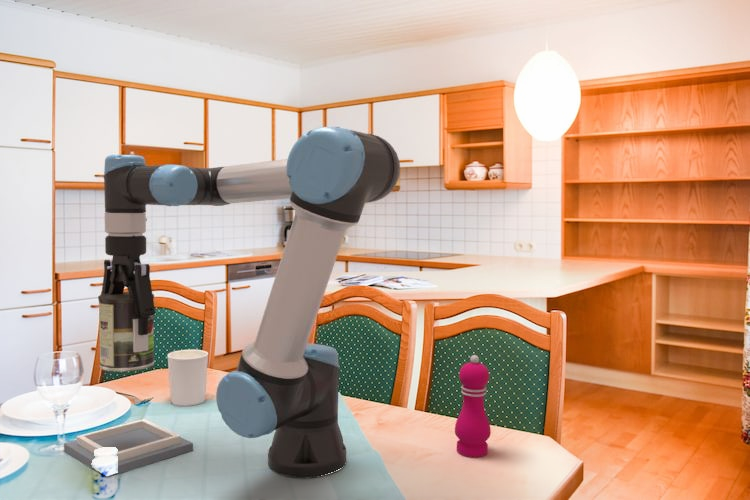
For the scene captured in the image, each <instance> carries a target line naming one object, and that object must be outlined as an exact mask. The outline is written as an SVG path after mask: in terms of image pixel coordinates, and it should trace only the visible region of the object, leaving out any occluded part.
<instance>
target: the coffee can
mask: <svg viewBox="0 0 750 500" xmlns="http://www.w3.org/2000/svg"><path fill="white" fill-rule="evenodd" d="M101 294H102V293H101ZM101 294H100V295H98V297H97V298H98V306H99V307H98V311H99V312H98V313H99V314H98V319H99V320H98V321H99V325H98V326H99V327H98V328H99V368H100V369H101V370H103V371H106V372H118V373H119V372H132V371H140V370H144V369H148V368H150V367H151V368H152V367H153V366H154V365H155V353H154V352H155V351H154V350H155V340H154V336H155V332H154V330H155V329H154V324H155V323H154V321H155V320H154V317H155V315H151V316H150V317H148V350H147V351H141V352H133V319H132V317H133V316H134V315H135V313H134V309H133V299H132V298H130V295H129V291H123V294H113V295H111V294H109V293H108V294H102V295H101ZM152 295H153V300H154V299H155V294H154V293H152Z"/></svg>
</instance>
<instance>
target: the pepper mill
mask: <svg viewBox="0 0 750 500" xmlns="http://www.w3.org/2000/svg"><path fill="white" fill-rule="evenodd" d="M469 358H470V359H469V360H470V362H467V363H465V364H463V365H462V366H461V368H460V370H459V375H458V376H459V380H460V382H461V383H462V385H461V387H460V388H461V394H462V397H463V399H462V400H463V401H462V406H461V411H460V413H459V415H458V417H457V419H456V422H455V425H454V426H455V427H454V435H455V436H456V437H457V438H458V440H457V441H456V452H457V453H458V454H459V455H461V456H463V457H467V458H480V457H481V458H482V457H484V456H486V455H487V454H488V452H489V448H488V447H489V444H488V442H487V440H488V439H489V438H490V436H491V433H492V432H491V425H490V421H489V418H488V417H487V413H486V411H485V410H486V409H485V406H484V405H485V404H484V403H485V401H484V400H485V395H487V391H486V390H487V386H486V385H487V384H488V382H489V380H490V371H489V370H488V368H487V366H486V365H484V364H483V363H480V358H479V356H478V355H476V354H473V355H471V356H470V357H469Z"/></svg>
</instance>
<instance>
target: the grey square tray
mask: <svg viewBox="0 0 750 500" xmlns="http://www.w3.org/2000/svg"><path fill="white" fill-rule="evenodd" d="M102 447H116V448H117V449H118V452H117V456H118V474H122V473H125V472H128V471H131V470H134V469H138V468H140V467H145V466H147V465H151V464H154V463H157V462H160V461H162V460H167V459H170V458H172V457H176V456H180V455H183V454H186V453H189V452H192V451H194V442H192V441H189V440H187V439H185V438H183V437H182V436H181V435H180V434H177V433H176V432H173V431H171V430H169V429H167V428H165V427H163V426H160V425H158V424H156V423H154V422H151V421H150V420H147V419H146V418H142V419H138V420H134V421H131V422H130V421H129V422H127V423H123V424H119V425H115V426H111V427H107V428H104V429H100V430H99V429H98V430H96V431H92V432H89V433H88V432H87V433H83V434H80V435H77V436H76V440H73V441H69V442H64V443H63V451H64V452H66V454H68V455H70V456H72V457H73V458H74V459H76V460H78V461H79V462H82V463H83V464H85V465H86V466H87V467H89V468H91V469H92V465H91V463H92V460H93V459H94V458H95V456H94V450H95V449H98V448H102ZM118 474H117V475H118Z"/></svg>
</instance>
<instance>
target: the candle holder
mask: <svg viewBox="0 0 750 500" xmlns="http://www.w3.org/2000/svg"><path fill="white" fill-rule="evenodd" d="M166 357H167V364H168V379H169V380H168V381H169V393H170V403H171V404H172V405H174V406H180V407H188V406H189V407H190V406H196V405H200V404H203V403H204V402H205V400H206V396H207V395H206V394H207V381H208V380H207V379H208V360H209V352H208V351H205V350H201V349H183V350H182V349H181V350H175V351H171V352H169V353H167V355H166Z"/></svg>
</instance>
